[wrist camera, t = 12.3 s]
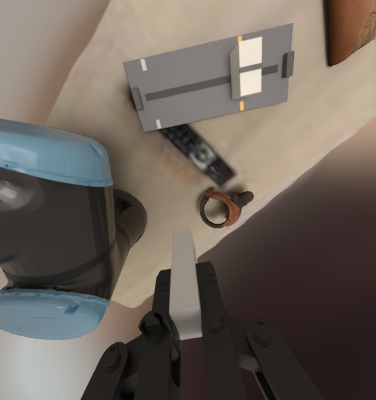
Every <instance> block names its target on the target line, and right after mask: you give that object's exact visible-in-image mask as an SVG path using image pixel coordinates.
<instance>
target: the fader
mask: <svg viewBox="0 0 376 400" xmlns="http://www.w3.org/2000/svg"><path fill="white" fill-rule="evenodd" d="M230 68H231V86H232V100H234V99H239V98H243V97H248V96H251V95H254V94H256V93H259V92H261V69H262V37H258V38H254V39H249V40H245V41H241V42H238V44H237V45H236V46H235V48H234V49H233V51H232V52H231V53H230Z"/></svg>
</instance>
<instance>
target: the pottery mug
mask: <svg viewBox="0 0 376 400" xmlns="http://www.w3.org/2000/svg"><path fill="white" fill-rule="evenodd" d="M213 190H214V188H212V189H210V190H208V191H207V192H206V194H204V196H203V198H202V200H201V204H200V215H201V218H202V220H203V221H204V222H205V223H206V224H207V225H209V226H210V227H213V228H222V227H224V226H227V227H228V226H231V225H232V224H234V223H235V222H236V221H237V220H238V218H239V216H240V214H241V210H242V207H243V206H245V205H247V204H248V203H249V202H250V201H252V200H253V197H254V195H253V193H252V192H250V191H246V192H243V193H237V192H234V195H233V201H234V202H233V201H231V197H230V196H228V195H226V194H223V193H220V192H213ZM211 197H212V198H213V199H219V200H221V201H223V202H224V203H225V204H226V205H227V206H228V209H229V216H227V219H226V221H225V222H223V223H221V224H215V223H212V222H210V221H209V220H208V219H207V218H206V216H205V214H204V206H205V204H206V202H207V201H208V199H209V198H211Z"/></svg>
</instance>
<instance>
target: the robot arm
mask: <svg viewBox="0 0 376 400" xmlns="http://www.w3.org/2000/svg"><path fill="white" fill-rule="evenodd" d="M113 182H114V181H113V178H112V176H111V170H110V163H109V157H108V153H107V151H106V149H105V148H104V147H103V146H102V145H101V144H100V143H99V142H97V141H96V140H94V139H91V138H89V137H86V136H83V135H79V134H76V133H72V132H67V131H63V130H59V129H54V128H49V127H44V126H39V125H34V124H29V123H23V122H17V121H11V120H5V119H0V267H1V268H2V270H3V272H4V273H5V275H6V277H7V279H8V284H7V285H6V286H5V287H4V288H2V289H1V290H0V329H2V330H4V331H7V332H10V333H13V334H16V335H20V336H25V337H29V338H36V339H46V340H65V339H72V338H77V337H81V336H83V335H86V334H88V333H90V332H92V331H93V330H94V329H96V327H97V326H98V325H99V324H100V322H101V320H102V318H103V316H104V313H105V311H106V309H107V307H109V305H110V299H111V297H112V294H113V291H114V289H115V286H116V283H117V281H118V278H119V276H120V273H121V270H122V268H123V265H124V263H125V260H126V257H127V255H128V252H129V250H130V248H131V247H132V246H133V245H134V244H135V243H136V242H137V241H138V240H139V239H140V238H141V237H142V235H143V233H144V231H145V228H146V225H147V215H146V211H145V209H144V207H143V206H142V204H141V203H140V202H139V201H138V200H137V199H136V198H135V197H133V196H132V195H130V194H128V193H126V192H123V191H120V190H115V189H113V188H112V185H113V184H114V183H113ZM155 286H156V287H155V293H154V299H153V306H152V311H150V312H148V313H147V314H146V315H144V317H143V318H142V320H141V321H140V324H139V329H140V331H141V332H142V334H141V335H140V336H139V337H137V338H135V339H134V340H132V341H130V342H128V343H127V344H124V343H122V342H116V343H114V344H112V345H111V346H110V347H109V348H108V349H107V350H106V351H105V352H104V354H103V355H102V357H101V359H100V361H99V363H98V365H97V367H96V369H95V371H94V373H93V375H92V377H91V379H90V381H89V383H88V385H87V387H86V390H85V391H84V394H83V396H82V398H81V400H182V362H181V361H182V359H181V349H180V348H179V337H180V339H181V340H184V339H190V338H196V337H202V340H203V349H204V358H205V367H206V376H207V385H208V394H209V400H247V396H246V392H245V389H244V385H243V380H242V376H241V372H240V368H239V367H241V368H244V369H248V370H250V371H252V372H253V374H254V376H255V378H256V380H257V382H258V384H259V386H260V388H261V391H262V393H263V395H264V397H265V399H266V400H325V399H324V398H323V396H322V395H321V394H320V392H319V391H318V389H317V388H316V386H315V385H314V384H313V382H312V381H311V379H310V378H309V377H308V375H307V374H306V372H305V371H304V369H303V368H302V366H301V365H300V364H299V362H298V361H297V359H296V358H295V356H294V355H293V354H292V352H291V351H290V349H289V348H288V347H287V345H286V344H285V342H284V341H283V339H282V338H281V336H280V335H279V334H278V332H277V331H276V329H275V328H274V327H273V326H272V325H271V324H270V323H269V322H268V321H266V320H264V319H261V318H255V319H252V320H251V321H250V322H248V321H243V320H238V319H236V318H233V317H232V316H230V315H229V314H228V313H227V311H226V310H225V308H224V306H223V302H222V298H221V294H220V290H219V286H218V282H217V278H216V274H215V270H214V267H213V265H212V264H211V263H210V261H208V262H203V263H197V257H196V250H195V245H194V241H193V237H192V232H191V228H190V227H186V228H180V229H175V230H173V243H172V264H171V269H167V270H162V271H160V272H159V274H158V276H157V278H156V285H155Z"/></svg>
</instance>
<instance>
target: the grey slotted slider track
mask: <svg viewBox="0 0 376 400" xmlns="http://www.w3.org/2000/svg"><path fill="white" fill-rule="evenodd" d="M292 31H293V23H291V24H287V25H283V26H278V27H274V28H270V29H266V30H261V31H257V32H253V33H248V34H244V35H240V36H236V37H231V38H227V39H223V40H219V41H214V42H210V43H206V44H201V45H197V46H193V47H189V48H184V49H180V50H176V51H172V52H167V53H163V54H159V55H155V56H150V57H146V58H142V59H137V60H133V61H129V62H125V63H123V64H124V67H125V71H126V74H127V77H128V81H129V84H130V89H131V92H132V95H133V99H134V102H135V105H136V109H137V111H138V115H139V118H140V121H141V125H142V128H143V131H144V132H148V131H153V130H157V129H162V128H167V127H171V126H176V125H180V124H185V123H190V122H194V121H199V120H203V119H208V118H213V117H217V116H222V115H226V114H231V113H236V112H240V111H245V110H250V109H254V108H259V107H263V106H268V105H273V104H277V103H282V102H286V101H287V94H288V81H289V77H290V76H292V74H293V63H294V51H291V44H292ZM258 37H262V69H261V92H259V93H256V94H254V95H251V96H248V97H243V98H239V99H234V100H232V86H231V68H230V53H231V52H232V51H233V49H234V48H235V46H236V45H237V44H238V42H241V41H245V40H249V39H254V38H258Z"/></svg>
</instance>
